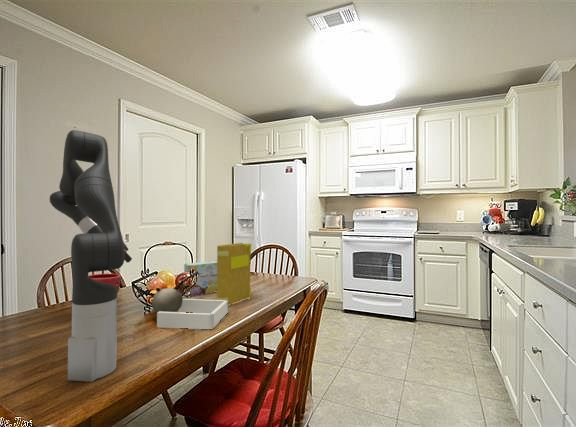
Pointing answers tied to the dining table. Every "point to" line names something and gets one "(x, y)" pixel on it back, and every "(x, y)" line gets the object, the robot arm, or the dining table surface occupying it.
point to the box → (194, 314)
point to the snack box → (203, 277)
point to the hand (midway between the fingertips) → (124, 262)
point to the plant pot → (108, 279)
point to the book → (233, 272)
